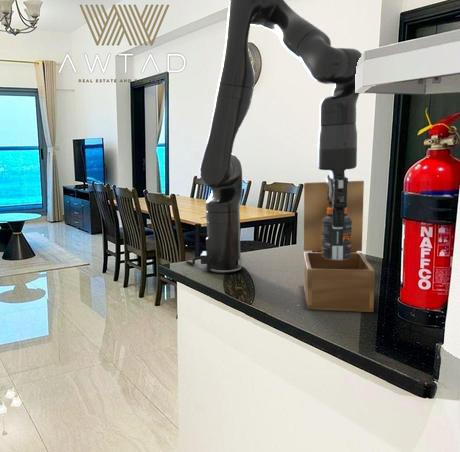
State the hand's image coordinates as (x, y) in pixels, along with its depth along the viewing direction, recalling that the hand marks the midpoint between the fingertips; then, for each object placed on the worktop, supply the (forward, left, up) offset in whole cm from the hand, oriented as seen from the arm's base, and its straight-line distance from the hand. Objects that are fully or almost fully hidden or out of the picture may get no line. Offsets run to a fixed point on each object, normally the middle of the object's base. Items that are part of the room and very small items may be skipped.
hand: (336, 223), depth 100 cm
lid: (0, +7, 0) cm, 7 cm away
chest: (0, 0, -17) cm, 17 cm away
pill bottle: (0, 0, -8) cm, 8 cm away
